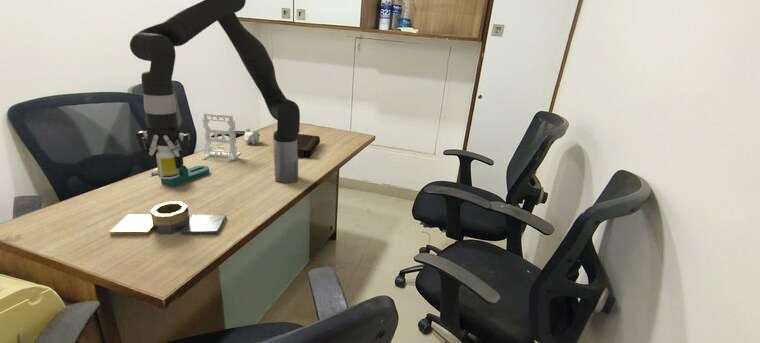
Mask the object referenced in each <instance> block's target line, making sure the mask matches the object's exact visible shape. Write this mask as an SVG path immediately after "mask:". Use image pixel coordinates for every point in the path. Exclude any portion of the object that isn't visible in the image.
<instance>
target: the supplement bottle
mask: <svg viewBox="0 0 760 343" xmlns="http://www.w3.org/2000/svg"><path fill="white" fill-rule="evenodd" d="M156 160H157V168H158V174H157V175H158V178H159V179H160V180H161V179H173V178H176V177H178V176H179V175H180V173H179V168H176V161H175V154H174V152H173V150H171V149H170V147H169V146H165V145H162V146H158V152H157V153H156Z"/></svg>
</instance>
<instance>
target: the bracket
mask: <svg viewBox="0 0 760 343" xmlns="http://www.w3.org/2000/svg"><path fill="white" fill-rule="evenodd" d="M179 173H180V175H179V176H178V177H176V178H173V179H161V178H160V181H161V184H163V185H166V186H169V187H172V188H175V187H178V186H181V185H183V184H186V183H189V182H192V181H194V180H197V179H199V178H201V177H205V176H207V175H210V168H209V166H208V165H194V166H192V167H189V168H188V167H187V166H186V165H184V164H183V165H182V166H181V167H180V168H179Z"/></svg>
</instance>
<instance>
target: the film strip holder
mask: <svg viewBox="0 0 760 343" xmlns="http://www.w3.org/2000/svg"><path fill="white" fill-rule="evenodd" d="M208 117H210V118H208ZM214 118H216V119H214ZM220 118H222V119H220ZM226 118H227V119H229V120H226ZM233 118H234V116H233V115H229V114H228V115H225V114H215V113H214V114H213V113H203V118H201V119H202V126H203V129H204V131H203V136H204V142H205V144H204V149H203V150H204V151H203V156H202V161H205V160H207V159H208V158H209V157H220V158H227V163H230V162H233V161H235V160H236V159H237V158H238V156H240V154H242V152H240V151H238V147H237V146H236V144H237V137H236V136H237V134H236V133H235V130H236V122H235V120H234V119H233ZM210 121H213V122H225V123H226V122H227V124H228V126H229V128H228V129H227V130H225V129H224V130H223V129H221V130H220V129H211V128H210V127H209V125H208V124H209V122H210ZM211 134H213V135H214V138H213V137H211ZM218 134H221V138H219V137H218ZM226 135H228V136H229V139H228V138H226ZM211 143H224V144H228V145H229V150H228V151H227V150H225V149H224V150H222V149H221V150H219V149H218V150H217V149H212V147H211V145H212V144H211Z"/></svg>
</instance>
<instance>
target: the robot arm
mask: <svg viewBox="0 0 760 343" xmlns="http://www.w3.org/2000/svg"><path fill="white" fill-rule="evenodd" d="M246 2H247V1H246V0H202V1H199V2H198V3H197V2H196V3H195V4H193V5H190V6H189V7H186V8H185V9H184V8H183V9H182V10H180V11H178V12H177V13H175V14H173V15H172V16H170V17H169V18H167V19H166V20H165V21H163V22H161V23H158V24H154V25H152V26H149V27H146V28H143V29H141V30H140V31H138V32H137V33H134V35H133V36H132V37H131V39H130V42H129V48H130V51H131V53H132V54H133V55H134V57H136V58H138V59H140V60H142V61H147V62H150V68H149V70H145V71H143V72H142V73H141V77H140V79H141V85H142V86H141V87H142V92H143V93H142V94H143V109H144V114H145V122H146V127H147V130H145V131H144V130H141V131H138V132H137V133H136V134H135V136H136V139H137V141H138V144H139V146H140V149H141V150H140V151H141V152H142V153H143V154H148V155H149V156H150V162H151V165H152V166H153V168H155V169H156V168H158V167H157V160H156V153H157V152H159V150H158V146H162V145H165V146H169V147H170V149H171V150H173V152H174V154H175V161H176V168H180V167H181V166H182V165H184V156H185V155H187V154H188V153H189V152H190V147H191V139H192V138H191V137H192V134H191V133H183V132H181V131H180V130H179V122H178V114H177V104H176V99H175V95H174V87H173V80H172V79H173V74H174V68H175V63H176V49H175V48H176V47H181V46H184V45H185V44H187V43H188V42H190V41H191V40H192V39H193V38H195V37H197V36H198V35H199V34H200V33H202V32H203V31H204V30H206V29H207V28H209V26H212V25H213V24H214V23H216V22H217V23H218V24H219V26H220V27H221V28H222V30H223V31H224V33H225V34H226V35H227V37H228V39H229V41H230V42H231V44H232V46H233V48H234V49H235V51H236V53H237V54H238V56H239V58H240V60H241V62H242V64H243V65H244V67H245V70H246V71H247V72H248V74H249V76H250V78H251V79H252V81H253V82H254V84H255V86H256V87H257V88H258V90H259V92H260V94H261V96H262V98H263V100H264V103H265V105H266V107H267V109H268V112H269V114H270V115H271V117H272V118H273V119H274V120H276V121H277V126H276V128H277V129H276V130H275V131H274V132H273V134H272V135H273V159H274V160H273V164H274V180H275V181H276V182H278V183H282V184H289V183H293V182H294V183H297V182H298V180H299V158H298V150H297V136H298V134H300V127H301V126H300V122H301V121H300V120H301V115H300V114H301V113H300V111H301V110H300V107H299V105H298V104H297V103H296V102H295V101H293V100H291V99H288V98H287V97H286V96H285V95H284V93H283V91H282V90H281V88H280V86H279V84H278V81H277V78H276V70H275V67H274V64H273V61H272V58H271V56H270V55H269V53H268V51H267V49H266V47H265V45H264V44H263V43H262V42H261V41H260V40H259V39H258V38H257V37H255V35H253V34H252V33H251V32H250V31H249V30H247V29H246V28H245V26H244V25H243V24H242V23H241V21H240V20H239V18H238V16H237V14H236V13H238V12H240V11H242V10H243V8H244V7H245V5H246ZM148 137H149V138H150V139H151V140H152V141H151V145H150V143H149V140H148ZM179 138H180V141H181V142H182V144H180V142H179V140H178V139H179ZM181 146H182V147H181Z"/></svg>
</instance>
